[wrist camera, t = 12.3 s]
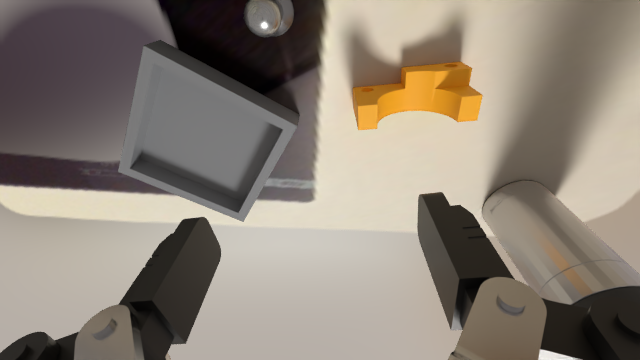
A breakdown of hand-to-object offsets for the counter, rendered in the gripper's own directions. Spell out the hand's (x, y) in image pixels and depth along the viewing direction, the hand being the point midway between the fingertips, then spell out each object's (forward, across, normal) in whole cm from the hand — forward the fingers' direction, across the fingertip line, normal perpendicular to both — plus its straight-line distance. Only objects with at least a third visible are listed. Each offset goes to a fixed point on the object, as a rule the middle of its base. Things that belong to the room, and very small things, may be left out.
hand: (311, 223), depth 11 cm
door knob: (+26, +4, -6) cm, 27 cm away
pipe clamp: (+27, -9, +3) cm, 28 cm away
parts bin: (+26, +16, +6) cm, 31 cm away
